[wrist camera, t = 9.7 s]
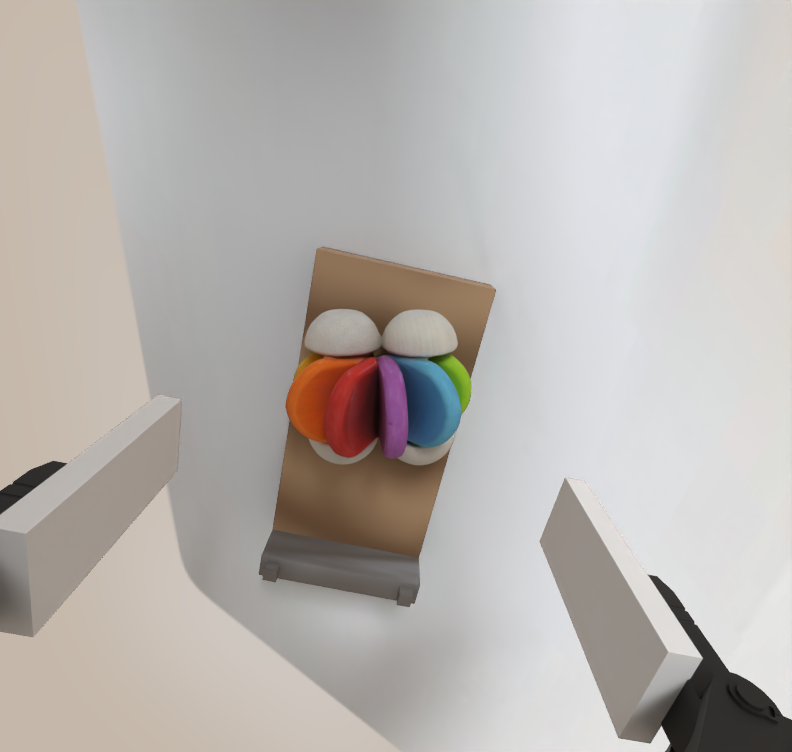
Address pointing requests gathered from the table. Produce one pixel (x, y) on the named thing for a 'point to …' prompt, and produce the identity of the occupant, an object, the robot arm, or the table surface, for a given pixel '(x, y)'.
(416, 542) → the wooden display stand
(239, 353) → the table surface
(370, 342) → the rainbow wooden ball puzzle
